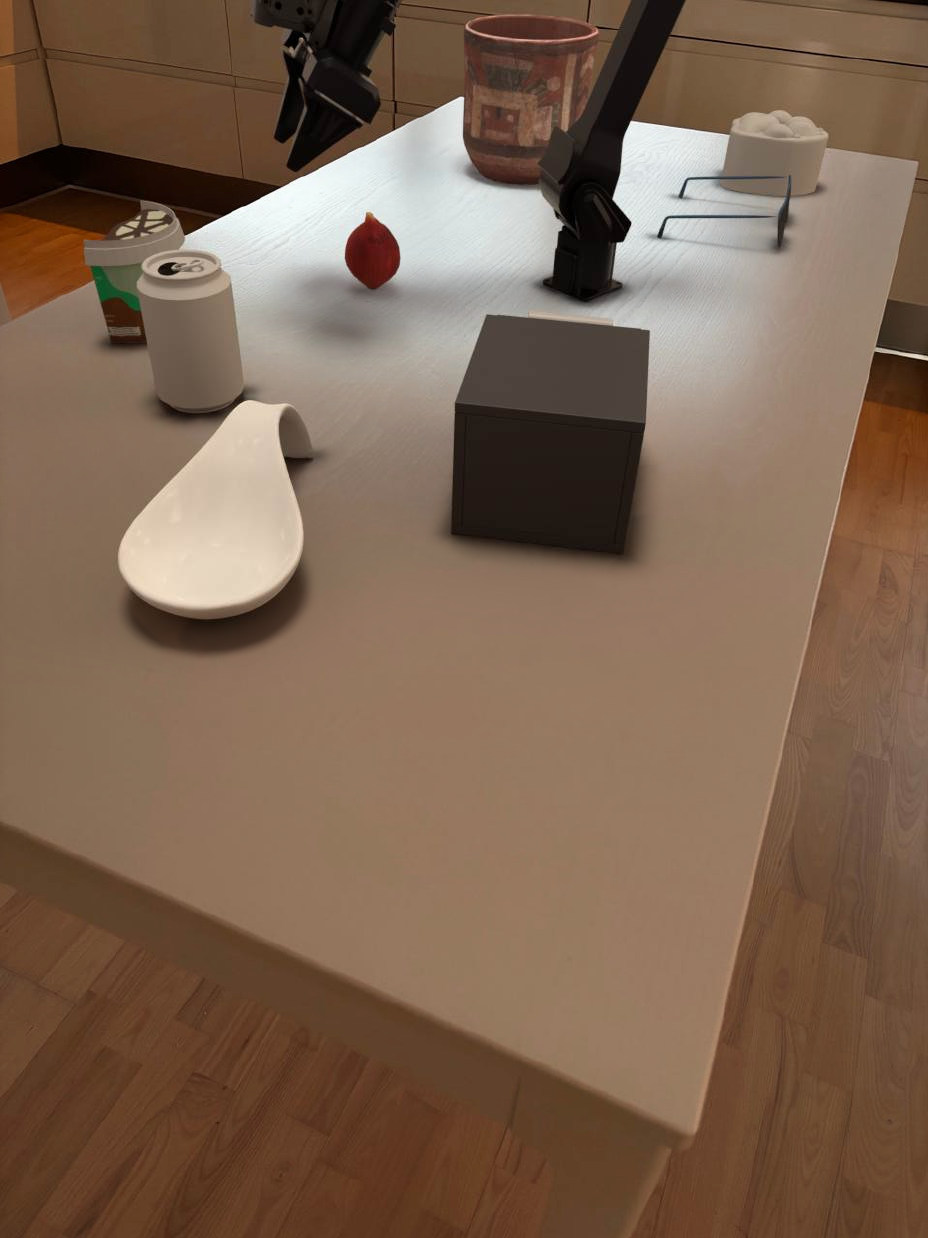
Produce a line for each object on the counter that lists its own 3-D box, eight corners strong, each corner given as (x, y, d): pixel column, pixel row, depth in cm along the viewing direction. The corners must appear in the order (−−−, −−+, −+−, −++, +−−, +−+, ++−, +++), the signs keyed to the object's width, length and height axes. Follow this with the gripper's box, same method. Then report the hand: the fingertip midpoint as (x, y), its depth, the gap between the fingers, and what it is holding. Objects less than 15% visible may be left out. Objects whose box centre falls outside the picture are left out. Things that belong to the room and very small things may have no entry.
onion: (408, 283, 108) (408, 208, 102) (388, 303, 103) (387, 225, 98) (359, 275, 109) (356, 200, 104) (337, 294, 105) (333, 217, 100)
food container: (165, 356, 92) (146, 249, 86) (103, 348, 93) (80, 241, 87) (216, 305, 102) (202, 204, 95) (160, 298, 103) (142, 198, 96)
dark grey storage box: (480, 434, 83) (486, 313, 76) (630, 451, 82) (650, 329, 75) (450, 533, 72) (454, 401, 65) (623, 554, 71) (646, 422, 64)
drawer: (498, 390, 88) (504, 293, 82) (627, 403, 86) (642, 306, 81) (466, 499, 74) (470, 392, 68) (618, 517, 73) (636, 410, 67)
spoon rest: (285, 655, 62) (274, 563, 57) (101, 639, 62) (75, 546, 58) (353, 458, 80) (349, 376, 75) (210, 447, 80) (197, 365, 76)
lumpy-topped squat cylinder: (723, 168, 144) (735, 103, 139) (814, 178, 142) (831, 112, 137) (718, 189, 137) (731, 121, 131) (815, 200, 134) (833, 131, 129)
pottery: (589, 194, 133) (606, 42, 121) (458, 189, 133) (463, 36, 121) (579, 156, 147) (593, 16, 135) (460, 152, 146) (465, 11, 135)
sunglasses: (779, 255, 118) (783, 211, 115) (655, 253, 122) (657, 211, 119) (790, 211, 130) (794, 171, 127) (677, 211, 135) (679, 172, 132)
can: (164, 377, 89) (140, 243, 82) (248, 376, 90) (233, 243, 82) (151, 418, 84) (124, 278, 76) (241, 417, 84) (224, 278, 76)
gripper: (272, -87, 88) (196, 80, 95) (302, -60, 74) (210, 134, 81) (377, -8, 94) (299, 144, 100) (423, 31, 80) (328, 204, 87)
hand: (284, 154), depth 92 cm, fingers open, 9 cm apart
